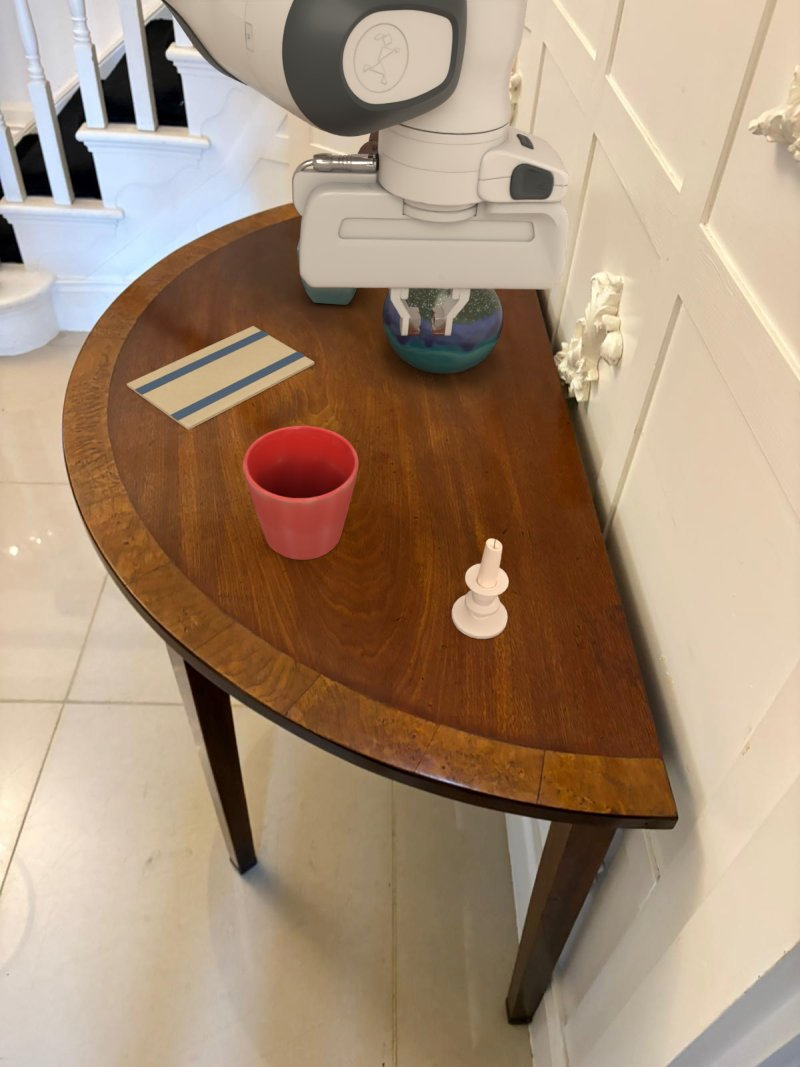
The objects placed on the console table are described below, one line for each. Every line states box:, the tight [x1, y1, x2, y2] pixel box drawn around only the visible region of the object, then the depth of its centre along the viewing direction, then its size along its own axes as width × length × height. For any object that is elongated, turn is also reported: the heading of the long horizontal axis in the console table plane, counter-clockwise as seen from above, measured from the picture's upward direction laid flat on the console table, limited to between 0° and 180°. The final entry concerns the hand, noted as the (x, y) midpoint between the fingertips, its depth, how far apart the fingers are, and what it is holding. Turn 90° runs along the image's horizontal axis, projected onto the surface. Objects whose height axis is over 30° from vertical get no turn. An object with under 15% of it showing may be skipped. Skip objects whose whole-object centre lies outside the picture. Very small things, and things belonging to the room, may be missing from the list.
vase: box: [381, 288, 504, 375], centre depth 100 cm, size 15×15×13 cm
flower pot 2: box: [242, 425, 359, 561], centre depth 76 cm, size 11×11×10 cm
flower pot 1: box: [296, 238, 358, 306], centre depth 111 cm, size 9×9×9 cm
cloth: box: [126, 325, 316, 431], centre depth 98 cm, size 20×12×1 cm, turn 138°
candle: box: [451, 538, 510, 640], centre depth 70 cm, size 5×5×10 cm
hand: (424, 332), depth 65 cm, fingers closed
